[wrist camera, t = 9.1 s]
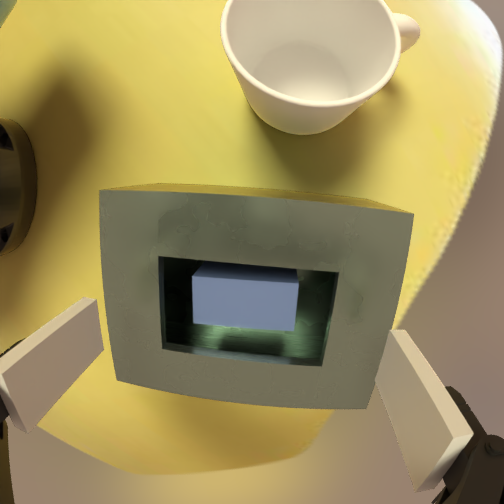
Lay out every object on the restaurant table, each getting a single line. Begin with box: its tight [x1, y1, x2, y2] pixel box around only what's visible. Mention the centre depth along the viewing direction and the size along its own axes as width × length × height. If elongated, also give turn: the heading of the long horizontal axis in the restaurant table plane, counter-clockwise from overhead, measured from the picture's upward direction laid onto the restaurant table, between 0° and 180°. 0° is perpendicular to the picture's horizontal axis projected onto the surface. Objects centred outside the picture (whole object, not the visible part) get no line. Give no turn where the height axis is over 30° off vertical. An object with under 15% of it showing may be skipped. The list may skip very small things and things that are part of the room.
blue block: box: [192, 260, 299, 331], centre depth 21 cm, size 6×3×6 cm, turn 88°
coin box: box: [99, 183, 414, 409], centre depth 20 cm, size 16×12×9 cm
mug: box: [220, 0, 420, 135], centre depth 15 cm, size 12×8×10 cm
